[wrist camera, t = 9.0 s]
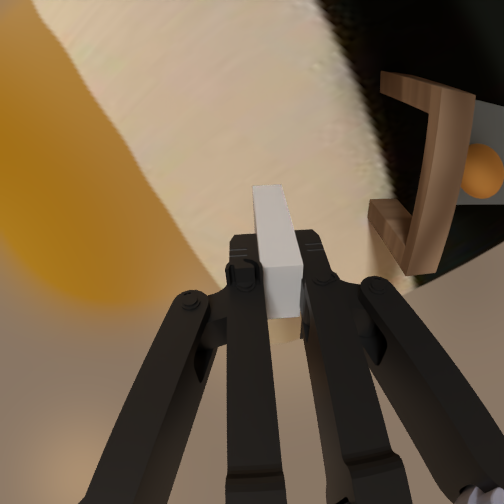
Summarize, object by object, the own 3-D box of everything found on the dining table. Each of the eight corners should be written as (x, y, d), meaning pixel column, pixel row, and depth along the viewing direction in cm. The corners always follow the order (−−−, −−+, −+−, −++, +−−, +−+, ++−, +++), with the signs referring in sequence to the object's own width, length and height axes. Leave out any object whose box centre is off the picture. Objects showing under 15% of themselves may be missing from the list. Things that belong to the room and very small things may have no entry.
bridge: (367, 217, 31) (405, 276, 24) (380, 70, 23) (441, 88, 15) (393, 216, 31) (435, 272, 24) (410, 74, 23) (475, 95, 15)
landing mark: (455, 95, 23) (457, 95, 23) (527, 113, 24) (528, 114, 24) (437, 204, 31) (438, 205, 30) (506, 203, 31) (507, 204, 31)
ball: (519, 162, 21) (497, 144, 25) (472, 146, 22) (454, 131, 26) (502, 213, 24) (484, 190, 29) (457, 201, 25) (443, 179, 30)
